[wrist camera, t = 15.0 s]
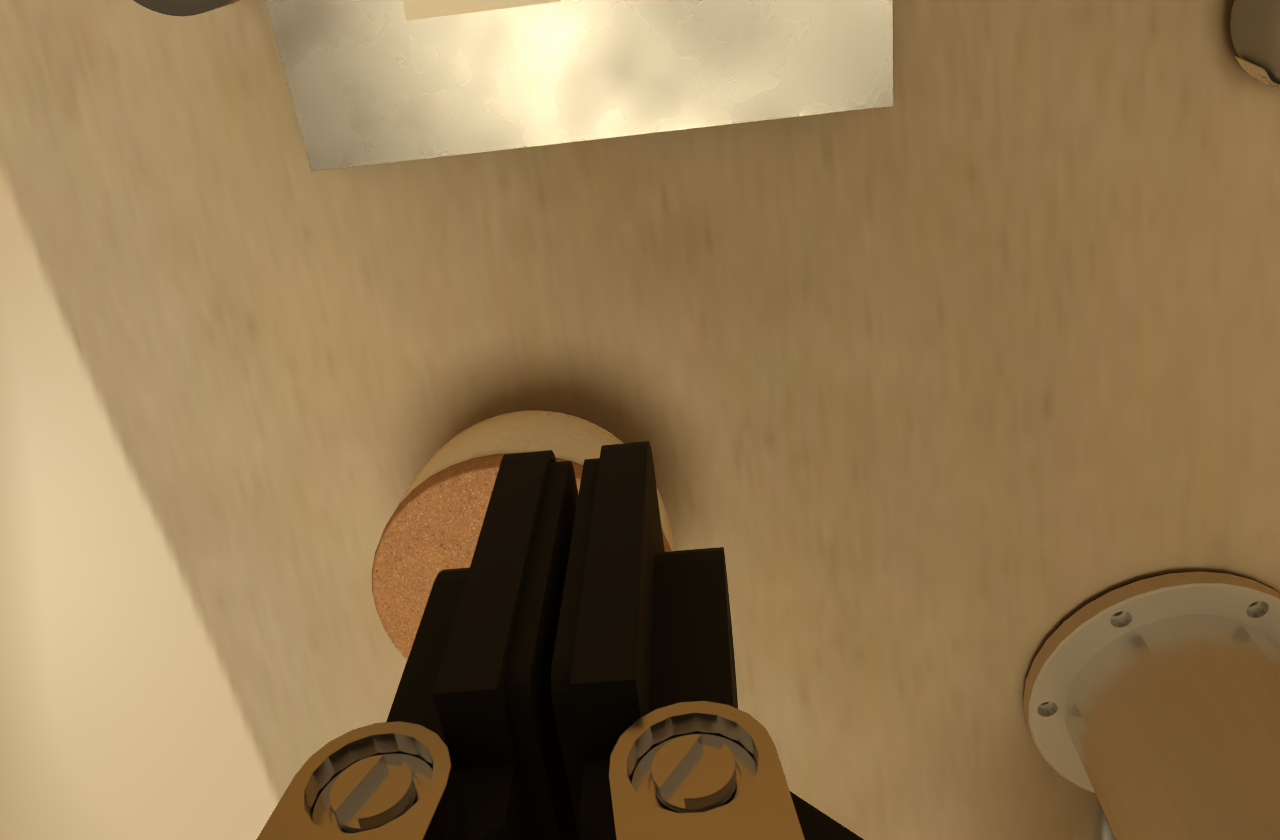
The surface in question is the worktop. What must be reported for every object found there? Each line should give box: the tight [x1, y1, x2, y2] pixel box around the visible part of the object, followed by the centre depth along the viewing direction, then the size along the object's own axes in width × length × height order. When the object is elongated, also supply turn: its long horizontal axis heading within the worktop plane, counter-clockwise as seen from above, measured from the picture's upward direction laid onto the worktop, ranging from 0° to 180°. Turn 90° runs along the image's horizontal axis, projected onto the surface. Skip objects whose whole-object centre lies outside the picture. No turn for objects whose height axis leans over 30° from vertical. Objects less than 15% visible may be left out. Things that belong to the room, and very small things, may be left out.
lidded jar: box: [372, 410, 673, 660], centre depth 40 cm, size 11×11×9 cm
